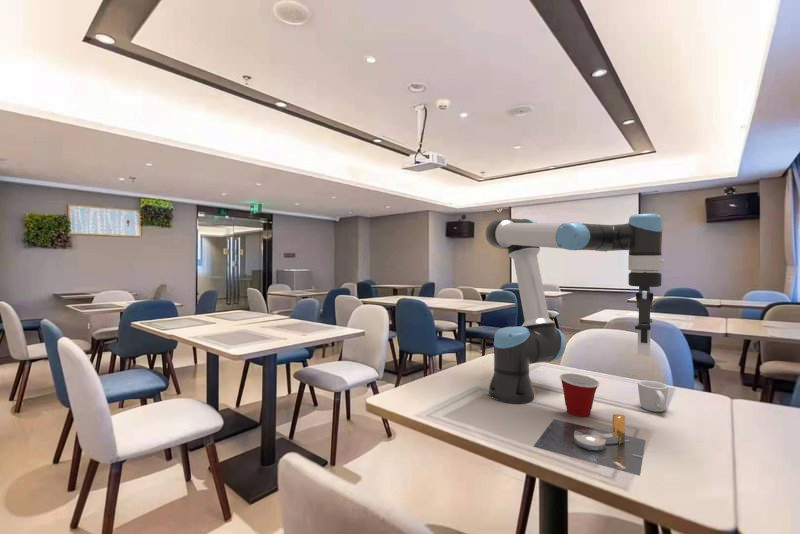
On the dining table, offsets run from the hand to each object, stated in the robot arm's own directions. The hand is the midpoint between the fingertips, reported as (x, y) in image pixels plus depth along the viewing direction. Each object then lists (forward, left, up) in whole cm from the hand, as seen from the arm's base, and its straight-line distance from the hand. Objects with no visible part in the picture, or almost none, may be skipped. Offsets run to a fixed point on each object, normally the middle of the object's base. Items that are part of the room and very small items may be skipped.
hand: (643, 350), depth 103 cm
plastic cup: (-16, +1, -23) cm, 28 cm away
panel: (-10, -18, -23) cm, 31 cm away
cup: (+2, +21, -23) cm, 31 cm away
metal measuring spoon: (-8, -17, -21) cm, 28 cm away
